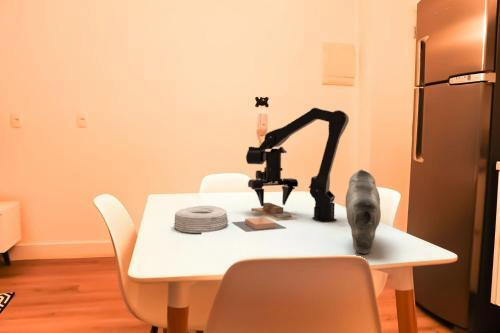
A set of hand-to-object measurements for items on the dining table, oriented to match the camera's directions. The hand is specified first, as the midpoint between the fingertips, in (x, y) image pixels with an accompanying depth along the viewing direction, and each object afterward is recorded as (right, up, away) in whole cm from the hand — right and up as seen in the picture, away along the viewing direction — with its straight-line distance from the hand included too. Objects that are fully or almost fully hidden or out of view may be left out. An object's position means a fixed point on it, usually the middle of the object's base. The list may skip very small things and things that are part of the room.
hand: (272, 205), depth 139 cm
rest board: (0, -4, 0) cm, 4 cm away
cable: (-25, -5, -21) cm, 32 cm away
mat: (-6, -5, -19) cm, 21 cm away
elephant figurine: (+22, -7, -38) cm, 45 cm away
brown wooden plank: (+1, -3, -2) cm, 4 cm away
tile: (-7, -3, -17) cm, 19 cm away
